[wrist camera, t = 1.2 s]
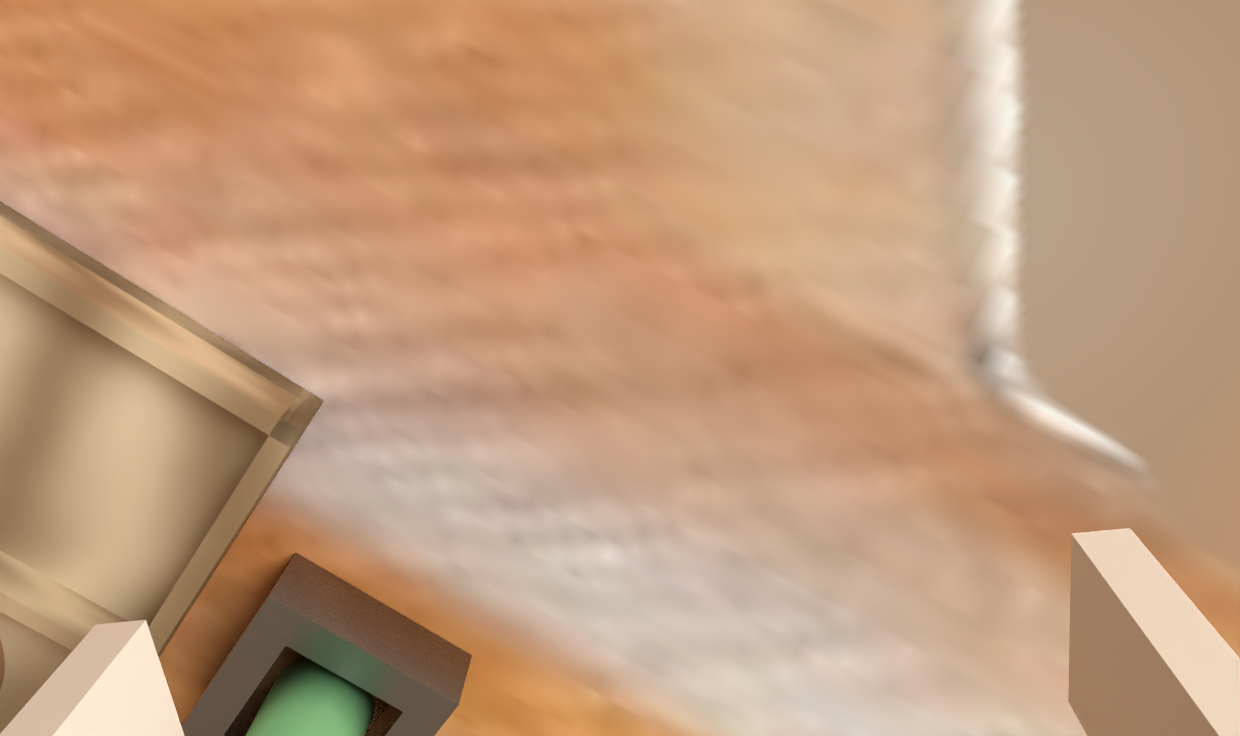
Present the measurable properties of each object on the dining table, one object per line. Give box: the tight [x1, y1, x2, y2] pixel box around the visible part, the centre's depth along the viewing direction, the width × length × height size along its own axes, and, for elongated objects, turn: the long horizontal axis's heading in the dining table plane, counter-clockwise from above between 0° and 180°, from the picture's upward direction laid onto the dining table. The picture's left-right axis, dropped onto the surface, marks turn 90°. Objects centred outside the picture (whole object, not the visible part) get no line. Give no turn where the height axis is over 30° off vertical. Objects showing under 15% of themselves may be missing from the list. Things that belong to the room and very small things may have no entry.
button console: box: [181, 553, 472, 736], centre depth 41 cm, size 8×8×3 cm
